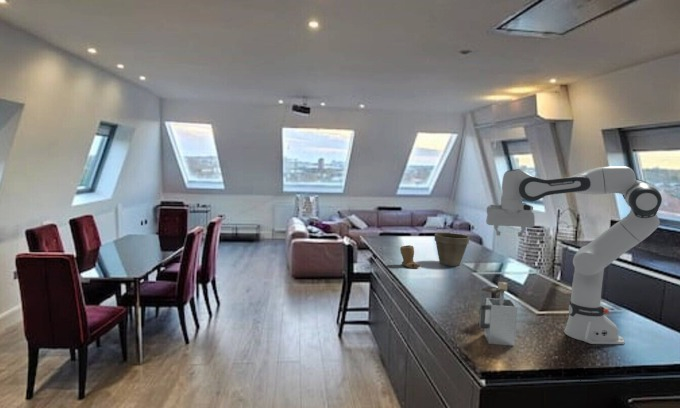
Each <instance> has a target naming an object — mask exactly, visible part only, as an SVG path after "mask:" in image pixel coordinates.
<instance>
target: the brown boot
mask: <svg viewBox="0 0 680 408" xmlns="http://www.w3.org/2000/svg"><path fill="white" fill-rule="evenodd" d="M399 250H400V254H401V256H402V259H403V260H402V262H401V265H403V266H404V267H407V268H409V269H417V268H420V267H421V265H420V264H418V263H417V262H415V261H414V257H415V256H414V255H415V247H414V246H413V245H411V244H410V245H401V246H400V249H399Z"/></svg>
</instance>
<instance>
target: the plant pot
mask: <svg viewBox="0 0 680 408" xmlns="http://www.w3.org/2000/svg"><path fill="white" fill-rule="evenodd" d="M434 241H435V245H436V249H437V250H436V251H437V255H438V256H437V257H438V261H439V263H440V264H441V265H444V266H449V267H457V266H458V265H459V266H460V265H461V263H462V261H463V258H464V256H465V252H466V249H467V246H468V245H469V244H470V236H468V235H465V234H461V233H455V232H454V233H451V232H437V233H434ZM459 266H458V267H459Z"/></svg>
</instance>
